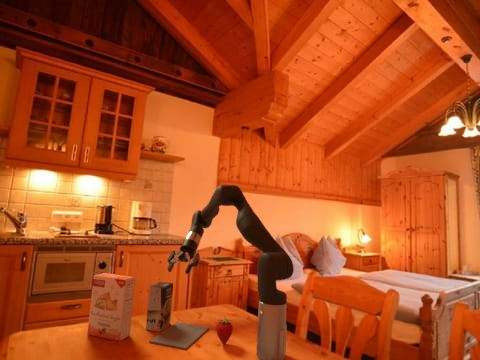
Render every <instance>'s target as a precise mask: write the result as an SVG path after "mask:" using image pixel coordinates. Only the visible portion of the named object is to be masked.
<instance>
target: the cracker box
mask: <svg viewBox="0 0 480 360" xmlns="http://www.w3.org/2000/svg"><path fill="white" fill-rule="evenodd" d="M92 279H93V280H92V286H91V287H92V288H91V297H90V298H91V299H90V304H89V305H90V307H89V315H88V316H89V317H88V323H87V336H91V337H92V336H93V337H98V338H102V339H106V340H111V341H115V342H121V341H123V340H125V339H127V338H128V337H130V335H131V328H132V327H131V325H132V317H133V304H134V296H135V286H136V285H135V283H136V277H135V276H128V275H122V274H116V273H115V274H114V273H108V272H103V273H98V274H94V275H93V278H92Z"/></svg>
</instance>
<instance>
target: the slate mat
mask: <svg viewBox="0 0 480 360" xmlns="http://www.w3.org/2000/svg"><path fill="white" fill-rule="evenodd" d="M209 330H210V327H208V326H202V325H197V324H190V323H185V322H180V321H177V322H176V323H174V324H172V325H171V326H170V327H168V328H165V330H162V332H160V333H158V334H157V335H156V336H154V337H153V338H151V339H149V342H148V343H150V344H154V345H159V346H165V347H170V348H175V349H179V350H184V351H187V350H188V349H189V348H190V347H191V346H192V345H193V344H195V343H196V342H197V341H198V340H199V339H201V337H202V336H204V335H205V333H207V332H208V331H209Z"/></svg>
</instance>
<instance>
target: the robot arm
mask: <svg viewBox="0 0 480 360" xmlns="http://www.w3.org/2000/svg"><path fill="white" fill-rule="evenodd" d="M221 206H224V207H226V206H227V207H229V206H231V207H235V209H236V210H237V216H236V218H235V219H236V220H235V224H236V225H235V226H236V228H237V230H238V231H239V233H240V234H241V236H242V237H243V238H244V240H245V241H246V242H248V243H249V245H252V246H253V247H255V248H257V249H258V250H259V251H261V253H262V254H260V256H259V258H258V261H257V271H256V272H257V294H258V314H257V331H256V333H257V334H256V335H257V336H256V357H257V358H258V359H259V360H285V358H286V356H287V355H286V354H287V333H288V332H287V328H288V325H287V299H288V298H287V296H288V295H287V293H285V292H284V291H282V290H280V289H278V288H277V287H278V286H277V281H283V280H288V279H290V278H291V277H292V276H293V275H294V271H295V270H294V264H293V260H292V258H291V256H290V255H289V254H288V253H287V252H286V250H285V249H284V248H283V247H282V246H281V245H280V244H279V243H278V241H276V239H275V238H274V237H273V235H271V233H270V231H269V230H268V229H267V228H266V226H265V225H264V224H263V222H262V220H261V219H260V218H259V216H258V215H257V214H256V212H255V211H254V209H253V208H252V206H251V205H250V204H249V202H248V201H247V198H246V197H245V195H244V193H243V191H242V189H241V188H240V187H239V186H238V185H235V184H221V185H218V186H217V187H215V190H214V192H213V193H212V196H211V198H210V199H209V202H208V203H207V204H206V206H204V207H203V209H202V210H196V211H194V213H193V214H192V217H191V223H190V228H189V230H188V232H187V234H186V235H185V238H184V240H183V241H182V243H181V245H180V247H179V251H175V250H172V251H171V252H170V254H169V256H168V258H167V263H168V266H167V270H168V273H171V272H172V270H173V268H174V267H175V265H176V264H179V263H188V264H187V266H186V269H185V274H186V275H189V274H190V273H191V271H192V268H193V267H194V268H195V267H196V268H197V267H198V264H199V261H200V259H201V255H200V253H199V252H197V250H198V248H199V246H200V244H201V240H202V237H203V235H204V232H205V229H209V228H210V227H211V225H212V222H213V219H215V218H216V217H217V216H218V215H219V212H220V207H221ZM196 252H197V253H196ZM192 259H193V261H192Z"/></svg>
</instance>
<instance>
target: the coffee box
mask: <svg viewBox="0 0 480 360" xmlns="http://www.w3.org/2000/svg"><path fill="white" fill-rule="evenodd" d="M173 292H174V282H162V281H159V282H157V283H154V284H152V285H149V292H148V301H147V310H146V311H147V313H146V321H145V322H146V323H145V330H148V331H154V332H160V333H161V331H164V329H166V328H167V327H168V326H169V325H171V318H172V317H171V316H172V303H173V295H174V294H173Z"/></svg>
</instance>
